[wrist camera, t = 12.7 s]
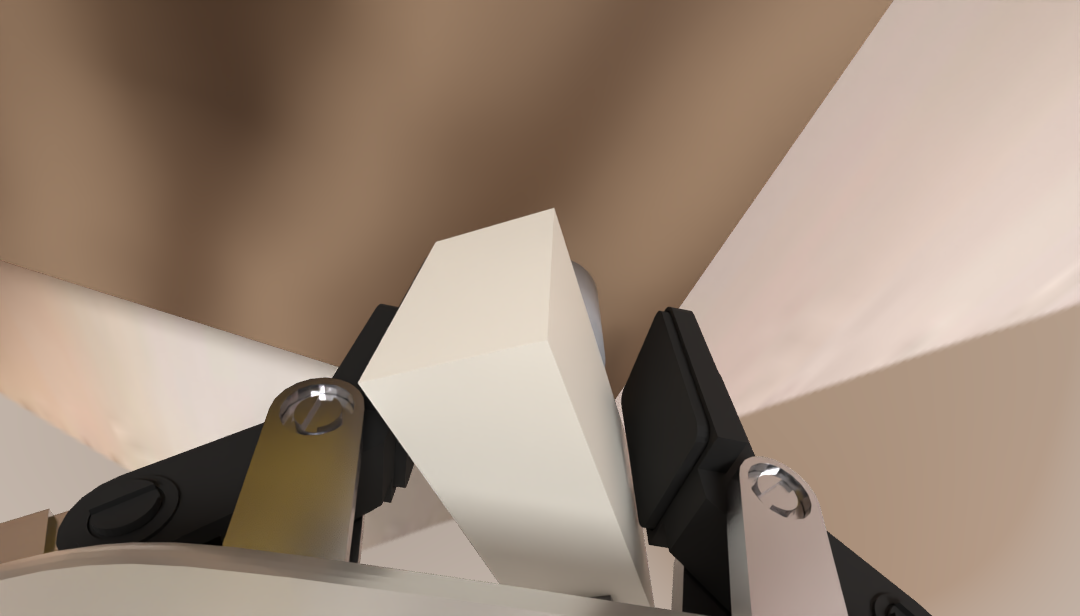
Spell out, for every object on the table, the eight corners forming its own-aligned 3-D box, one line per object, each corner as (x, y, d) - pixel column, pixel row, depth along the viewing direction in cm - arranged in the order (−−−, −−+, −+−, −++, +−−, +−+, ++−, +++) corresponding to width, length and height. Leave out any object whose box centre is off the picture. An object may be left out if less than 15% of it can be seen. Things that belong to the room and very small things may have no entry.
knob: (458, 194, 11) (343, 396, 5) (560, 163, 11) (556, 348, 5) (544, 395, 15) (531, 648, 9) (623, 379, 14) (664, 636, 8)
